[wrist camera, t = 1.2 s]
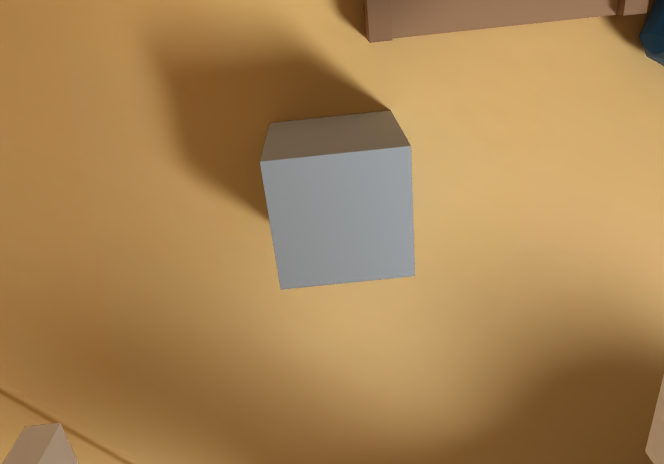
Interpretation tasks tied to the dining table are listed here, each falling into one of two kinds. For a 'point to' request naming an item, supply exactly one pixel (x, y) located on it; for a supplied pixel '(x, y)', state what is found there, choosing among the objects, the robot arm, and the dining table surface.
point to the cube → (339, 199)
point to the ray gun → (654, 33)
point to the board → (479, 14)
